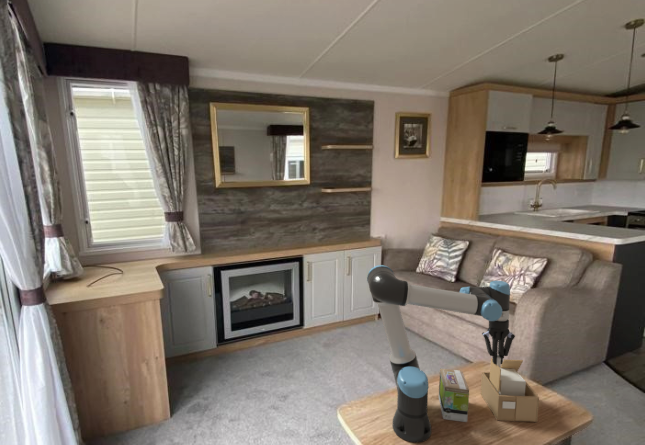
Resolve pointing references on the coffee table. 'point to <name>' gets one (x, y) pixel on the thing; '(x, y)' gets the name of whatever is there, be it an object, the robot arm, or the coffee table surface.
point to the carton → (510, 397)
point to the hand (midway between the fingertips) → (497, 370)
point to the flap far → (511, 364)
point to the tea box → (453, 395)
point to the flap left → (495, 375)
